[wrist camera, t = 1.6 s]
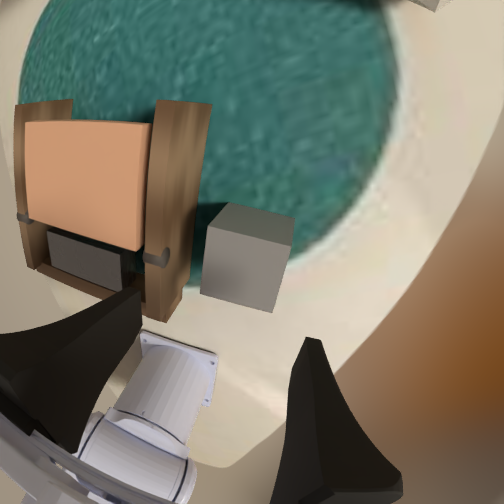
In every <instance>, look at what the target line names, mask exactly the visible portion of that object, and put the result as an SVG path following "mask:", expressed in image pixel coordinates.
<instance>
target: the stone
mask: <svg viewBox="0 0 504 504" xmlns="http://www.w3.org/2000/svg"><path fill="white" fill-rule="evenodd" d="M294 222H295V218H292V217H288V216H284V215H280V214H276V213H272V212H268V211H264V210H260V209H256V208H251V207H247V206H243V205H239V204H234V203H230V202H228V203H227V205H226V206H225V207H224V208H223V209H222V210H221V211H220V213H219V214H218V215H217V216H216V217H215V218H214V219H213V221H212V222H211V223H210V224H209V225H208V229H207V236H206V244H205V252H204V261H203V269H202V278H201V287H200V294H203V295H206V296H210V297H213V298H217V299H220V300H224V301H228V302H231V303H235V304H239V305H242V306H246V307H250V308H254V309H258V310H262V311H266V312H269V313H272V312H273V309H274V305H275V302H276V299H277V295H278V292H279V288H280V285H281V282H282V278H283V275H284V271H285V268H286V264H287V261H288V257H289V254H290V250H291V246H292V238H293V230H294Z"/></svg>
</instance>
